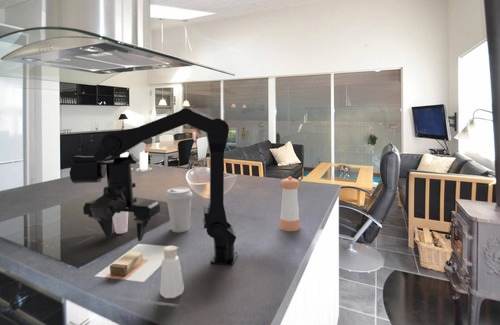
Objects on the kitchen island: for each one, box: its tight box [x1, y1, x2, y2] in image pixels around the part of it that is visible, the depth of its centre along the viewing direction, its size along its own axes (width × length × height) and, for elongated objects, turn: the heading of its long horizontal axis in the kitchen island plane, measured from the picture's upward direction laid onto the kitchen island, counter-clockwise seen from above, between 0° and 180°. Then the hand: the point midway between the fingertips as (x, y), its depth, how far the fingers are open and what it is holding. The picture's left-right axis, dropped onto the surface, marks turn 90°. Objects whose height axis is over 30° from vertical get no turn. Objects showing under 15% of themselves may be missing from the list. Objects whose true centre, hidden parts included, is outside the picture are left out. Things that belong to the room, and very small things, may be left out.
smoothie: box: [112, 211, 129, 235], centre depth 97 cm, size 6×6×14 cm
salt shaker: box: [279, 176, 301, 232], centre depth 100 cm, size 7×7×19 cm
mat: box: [94, 243, 180, 283], centre depth 78 cm, size 19×14×1 cm
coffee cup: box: [164, 186, 194, 233], centre depth 99 cm, size 10×10×15 cm
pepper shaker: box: [159, 245, 185, 299], centre depth 62 cm, size 5×5×11 cm
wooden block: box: [110, 252, 143, 277], centre depth 73 cm, size 8×4×2 cm, turn 168°
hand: (124, 239), depth 72 cm, fingers open, 9 cm apart
